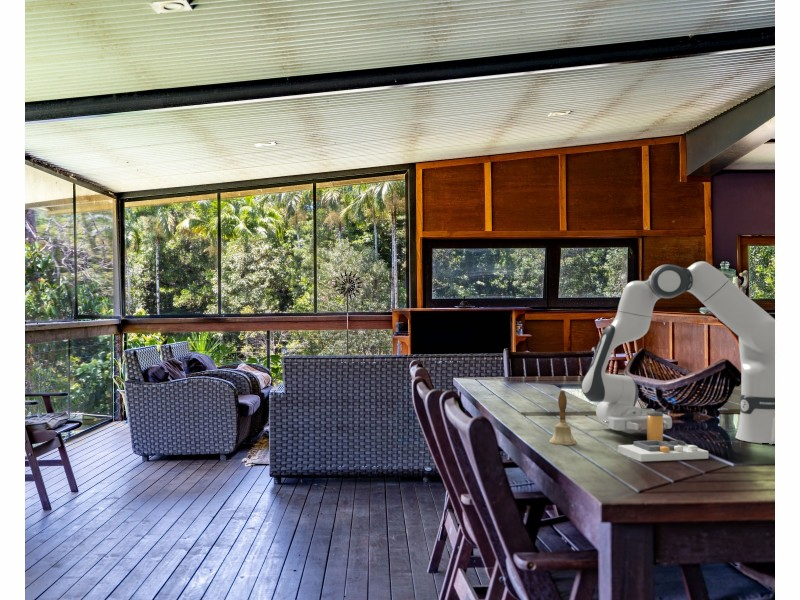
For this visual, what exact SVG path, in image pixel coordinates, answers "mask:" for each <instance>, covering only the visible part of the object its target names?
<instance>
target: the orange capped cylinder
mask: <svg viewBox="0 0 800 600" xmlns="http://www.w3.org/2000/svg"><path fill="white" fill-rule="evenodd" d="M663 414H664V412H662V411H649V412H647V430H646V441H653V440H659V441H664V429H663Z"/></svg>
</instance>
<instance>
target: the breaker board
mask: <svg viewBox="0 0 800 600" xmlns="http://www.w3.org/2000/svg"><path fill="white" fill-rule="evenodd" d="M617 453H618V454H621V455H624V456H625V457H629V458H631V459H633V460H637V461H638V462H661V461H662V462H663V461H681V460H682V461H683V460H684V461H685V460H704V459H709V450H705V449H702V448H700V447H698V446H697V445H694V444H687V443H686V441H684V440H677V441H676V440H669V441H667V440H663V441H659V440H653V441H647V440H636V441H635V440H634V441H633V444H618V445H617Z"/></svg>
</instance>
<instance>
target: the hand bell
mask: <svg viewBox="0 0 800 600" xmlns="http://www.w3.org/2000/svg"><path fill="white" fill-rule="evenodd" d="M567 401H568V399H567V395H566V393H565V390H560V392H559V395H558V399H557V403H558V409H559V422H558V423H556V424H555V428H554V432H553V433H554V434H553V435H552V437H550V439H549V441H548V442H549V443H550V444H553V445H556V446H557V445H558V446H573V445H577V444H578V443H577V440H576V439H575V438H574V436H573V435H572V434H573V433H572V429H571V425H570V424H568V423H567V419H566V408H567V406H568V405H567V404H568V403H567Z"/></svg>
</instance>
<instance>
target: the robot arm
mask: <svg viewBox="0 0 800 600" xmlns="http://www.w3.org/2000/svg"><path fill="white" fill-rule="evenodd" d="M686 292H688V293H690V294H692V295H693V296H694V297H696V299H698V300H699V302H701V304H703V305H704V307H706V309H708V311H710V313H712V314H713V315H714V316H715V317H716V318H717V319H718V321H720V322H722V324H724V325H725V326H726V327H727V328H729V329H730V330H731V332H733V333H734V334H735V335H736V336H738V348H739V349H738V350H739V360H740V368H741V369H740V370H741V375H740V377H741V379H740V380H741V381H740V382H741V383H740V385H741V386H740V387H741V392H740V394H739V410H740V413H739V420H738V425H737V430H736V434H735V439H737V440H740V441H745V442H748V443H755V444H762V443H769V444H768V445H772V444H773V443H774V442H775V320H776V319H775V318H774V317H773V316H772V315H770V313H768V312H767V311H765V310H764V309H763V308H762V307H761V306H760V305H758V304H757V303H756V302H755V301H754V300H752V299H751V298H749V296H748V295H746V294H745V293H744V292H743V291H742V290H741V289H740V288H739V287H738V286H737V285H736V284H735V283H734V282H732V281H731V279H729V278H728V277H727V276H726V275H725V274H724V273H723V272H722V271H720V270H719V269H718V268H716V267H715V266H713V265H711V264H710V263H709V262H707V261H704V260H703V261H702V260H701V261H697V262H694V263H692V264H691V265H690V266H688V267H681V266H680V265H679V266H678V265H676V264H675V265H674V264H662V265H660V266H658V267H656V268H655V269H654V270H653V271H652V272H651V274H650V275H649V276H648V278H647V279H646V280H632V281H630V282H628V283H627V284H626V285H625V287H624V289H623V290H622V294H621V297H620V300H619V303H618V306H617V312H616V314H615V317H614V319H613V320H612V322H611V323H610V324H609V325H607V326H606V327H605V328H604V329H603V331H602V333H601V336H600V337H599V340H598V343H597V346H596V348H595V351H594V353H593V357H592V358H591V359H592V360H591V362H590V364H589V367H588V369H587V371H586V373H585V375H584V377H583V379H582V382H581V391H582V394H583V396H584V397H585V398H586V399H587V400H588V401H589V402H590V403H591V402H593V403H598V404H597V406H596V409H595V414H596V417H597V418H598V420H599V421H600V422H601V423H602V424H603V425H606V426H607V428H609V429H611V430H613V431H620V432H621V431H622V432H624V433H627V434H636V433H637V432H642V431H647V412H649V411H655V409H653V408H648V407H639V406H636V405H637V402H638V398H639V387H638V384H637V383H636V381H635V380H634V378H633V377H632V376H629V375H623V374H613V373H606V369H607V366H608V365H609V361H610V360H611V356H612V353H613V351H614V350H615V349H616V348H617V347H619V346H620V345H622V344H625V343H629V342H634V341H638V340H639V339H642V337H644V336H645V335H646V334H648V332H649V329H650V326H651V323H652V317H653V310H654V307H655V304H656V302H658V300H660V299H672V298H675V297H677V296H679V295H681V294H683V293H686ZM672 421H673V419H672V417H671V416H670V415H667V414H666V413H665V414H664V413H663V430H665V429H666V430H669V429H671V428H672V426H673V422H672Z"/></svg>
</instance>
